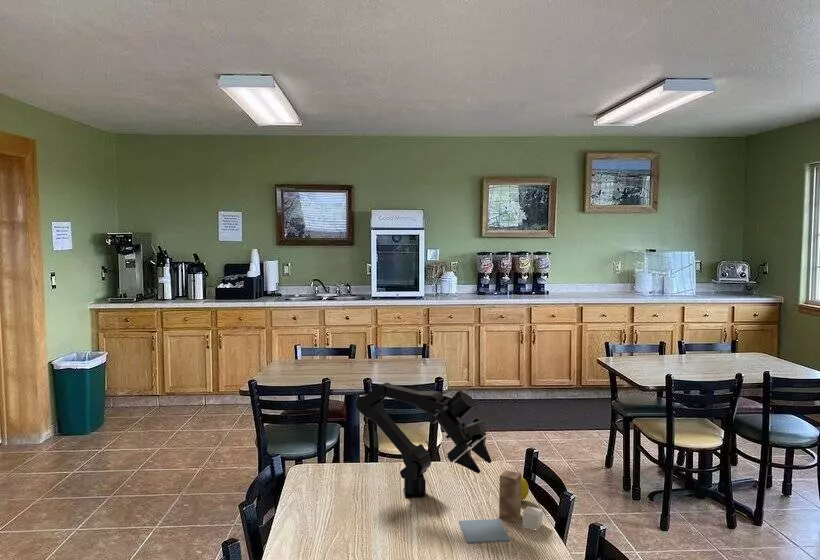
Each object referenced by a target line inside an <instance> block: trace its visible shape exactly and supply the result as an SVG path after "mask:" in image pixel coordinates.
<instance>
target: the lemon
mask: <svg viewBox="0 0 820 560" xmlns="http://www.w3.org/2000/svg"><path fill="white" fill-rule="evenodd" d="M529 489H530V487H529V483H528V481H527V479H525V478H524V477H522V476H521V501H523V500H525V499H526V498H527V497H528V496H529V492H530V491H529Z"/></svg>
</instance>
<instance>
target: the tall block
mask: <svg viewBox="0 0 820 560" xmlns="http://www.w3.org/2000/svg"><path fill="white" fill-rule="evenodd" d="M521 477H522V473H521V472H518V471H517V472H516V471H512V470H507V469H505V470H504V471H503V472H502V473H500V475H499V497H498V498H499V500H498V501H499V504H498V505H499V506H498V507H499V512H498V514H499V515H498V517H499V518H498V519H499V520H500V519H501V520H505V521H508V522H513V523H517V520H518V519H519V518H520V517H521V515H522V512H521V511H522V509H521V508H522V500H521Z"/></svg>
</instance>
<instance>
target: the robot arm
mask: <svg viewBox="0 0 820 560" xmlns="http://www.w3.org/2000/svg"><path fill="white" fill-rule="evenodd" d="M386 398H389V399H393V400H395V401H400V402H404V403H407V404H411V405H414V406H416V407H417V408H418V409H419V410H421V411H423V412H425V413H427V414H431V415H430V417H431V419H430V424H431V425H433V424H435V423H438V424H439V426H440V427H441V428H442V430H443V431H444V432H445V433H446V436H445V438H446V439H447V440H449V439H450V440H451V442H453V444H454V445H455V446H454V447H453V448H451V450H450V451H448V452H447V454H446V455H447V456H446V457H447V459H448V460H449V462H450V463H451V464H452V463H453V462H454V464H458V465H460V466H463V467H464V468H467V469H469V470H470V471H472V472H474V473H475V474H480V473H482V472H481V470H480V468H479V466H478V464H477V463H476V461H475V460H474V458H473V457H472V452H473V453H475V454H476V455H477V456H479V458H481V459H482V460H483V461H485V462H486V463H487V464H491V463H492V462H493V461H492V459H491V456H490V454H489V451H488V449H487V445H486V440H487V436H486V435H487V432H486V430H487V429H486V427H485V425H486V422H485V421H484V420H483V419H482V417H480V416H479V417H475V418H474V419H473V421H472V422H471V423H469V424H468V423H467V422H465V421H463V422H461V420H460V419H463V418H464V417H465V416H466V415H468V414H469V412H471V410H473V409H474V408H475V407H476V403H475V400H474V399H473V398H472V397H471V396H470V395H469V394H467V393H466V392H463V391H462V389H460V390H458V391H457V392H456V393H455V394H454V396H452V397H450V396H447V395H444V394H443V393H442V392H440V391H436V390H420V391H419V390H415V389H412V388H407V387H404V386H400V385H397V384H391V383H390V382H384V383H381V384H378V385H377V386H376V388H374V389H373V390H371V391H369V392H368V393H366V394H363V395H361V396H359V397H357V399H356V402H355V403H356V405H355V407H356V409H357V411H358V412H359V413H360V414H361V415H362V416H364V418H367V419H369V420H371V421H373V422H374V423H375V424H376V425H377V426H378V427H379V429H380V430H381V431H382V433H383V434H384V435H385V436H386V437H387V439H388V440H389V441H390V442H391V443H392V444H393V445H394V447H395V448H396V449H397V450H398V451H399V453H400V454H401V458H402V461H403V464H404V465H405V466H404V467H403V468H402V469H401V470H400V471H399V473H400V478H401V479H403V488H402V489H403V490H402V491H403V495H404V497H405V498H406V499H407V498H424V497H425V496H426V494H425V493H426V490H427V489H426V485H427V483H426V482H427V481H426V478H425V475H424V474H425V473H426V472H427V470H428V469H429V468H430V467H431V464H432V457H431V455H430V451H428V450H427V449H426V448H425V446H424V445H423V444H422V443H420V444H418V445H416V444H414V443H413V442H412V441H411V439H409V438H408V437H407V435H406V434H405V433H404V432H403V430H402V429H401V428H400V427H399V426H398V425H397V424H396V423H395V421H394V420H393V419H392V418H391V416H390V415H389V414H388V413H387V412H386V410H385V404H384V402H383V400H385V399H386ZM446 407H447V408H446ZM437 411H438V412H437ZM435 412H437V413H435ZM471 451H472V452H471Z"/></svg>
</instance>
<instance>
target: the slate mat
mask: <svg viewBox="0 0 820 560" xmlns="http://www.w3.org/2000/svg"><path fill="white" fill-rule="evenodd" d="M458 524H459V527H460V529H461V531H462V533H463V537H464V540H465V542H466V544H478V543H479V544H480V543H501V542H510V541H511V539H510V537H509V535H508V533H507V531H506V530H505V527H504V526H503V524H502V522H501V521H500V518H488V519H468V520H464V519H463V520H458Z"/></svg>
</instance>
